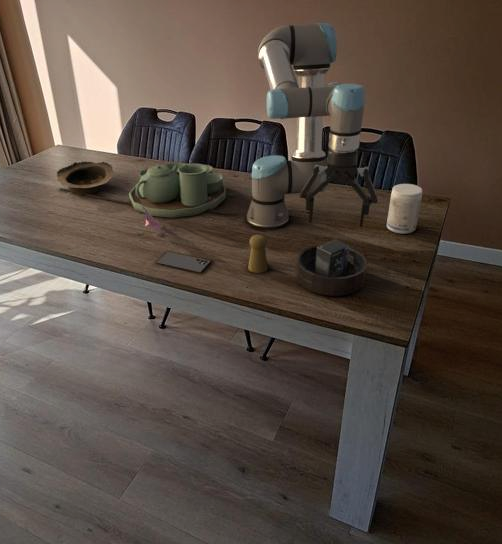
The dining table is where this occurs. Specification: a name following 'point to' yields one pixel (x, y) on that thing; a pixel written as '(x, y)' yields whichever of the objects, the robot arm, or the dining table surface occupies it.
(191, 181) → the tea set
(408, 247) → the dining table surface
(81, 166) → the stone bowl
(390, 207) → the supplement tub
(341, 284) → the bowl
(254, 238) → the cork
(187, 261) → the smartphone
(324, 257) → the box
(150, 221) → the lily
